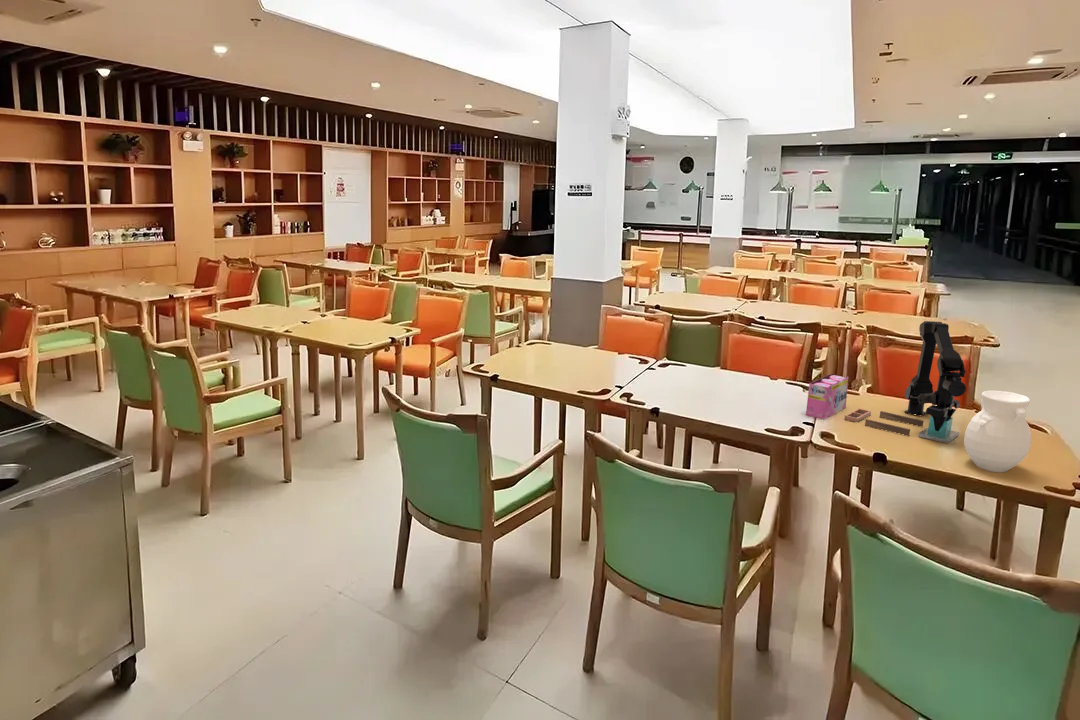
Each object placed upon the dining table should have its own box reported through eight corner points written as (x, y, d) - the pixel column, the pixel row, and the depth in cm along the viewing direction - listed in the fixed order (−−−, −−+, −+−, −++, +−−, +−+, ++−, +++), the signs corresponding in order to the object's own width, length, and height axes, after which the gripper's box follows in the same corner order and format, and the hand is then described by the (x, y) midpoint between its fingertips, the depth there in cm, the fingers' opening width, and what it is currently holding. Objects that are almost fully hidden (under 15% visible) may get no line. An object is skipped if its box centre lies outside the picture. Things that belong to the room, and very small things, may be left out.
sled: (929, 428, 270) (932, 410, 269) (958, 435, 264) (961, 417, 262) (918, 436, 262) (921, 418, 260) (947, 443, 255) (950, 424, 253)
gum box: (828, 403, 303) (832, 372, 299) (847, 407, 297) (851, 376, 294) (805, 415, 286) (808, 383, 282) (824, 419, 280) (828, 387, 277)
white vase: (1039, 477, 226) (1053, 403, 220) (985, 478, 225) (998, 404, 219) (998, 455, 244) (1010, 387, 238) (947, 456, 243) (959, 387, 237)
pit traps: (858, 412, 290) (858, 408, 289) (870, 415, 286) (871, 411, 286) (844, 419, 280) (844, 415, 280) (856, 422, 277) (857, 418, 276)
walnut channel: (880, 416, 285) (881, 411, 284) (922, 426, 274) (923, 420, 273) (864, 425, 274) (865, 419, 273) (908, 436, 263) (909, 429, 262)
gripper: (930, 380, 270) (924, 418, 274) (913, 389, 257) (907, 429, 261) (962, 386, 262) (956, 425, 266) (947, 395, 250) (940, 436, 253)
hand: (939, 428), depth 262 cm, fingers closed on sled, 6 cm apart
